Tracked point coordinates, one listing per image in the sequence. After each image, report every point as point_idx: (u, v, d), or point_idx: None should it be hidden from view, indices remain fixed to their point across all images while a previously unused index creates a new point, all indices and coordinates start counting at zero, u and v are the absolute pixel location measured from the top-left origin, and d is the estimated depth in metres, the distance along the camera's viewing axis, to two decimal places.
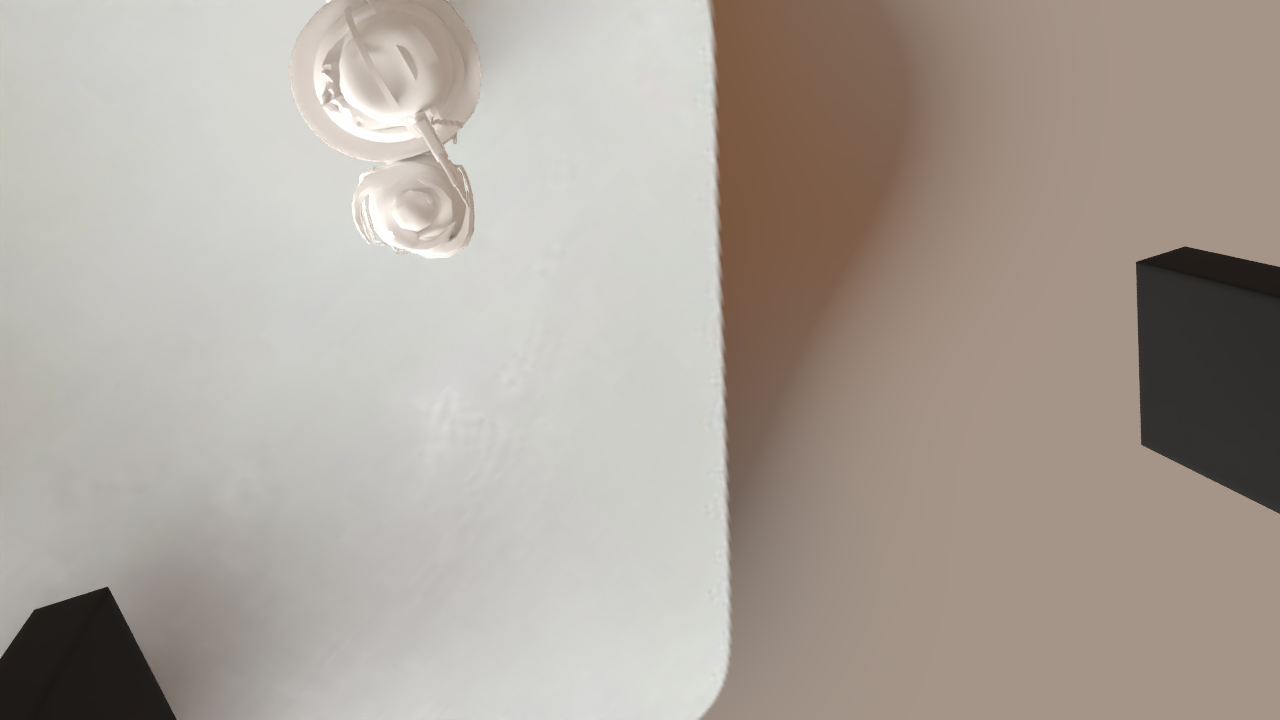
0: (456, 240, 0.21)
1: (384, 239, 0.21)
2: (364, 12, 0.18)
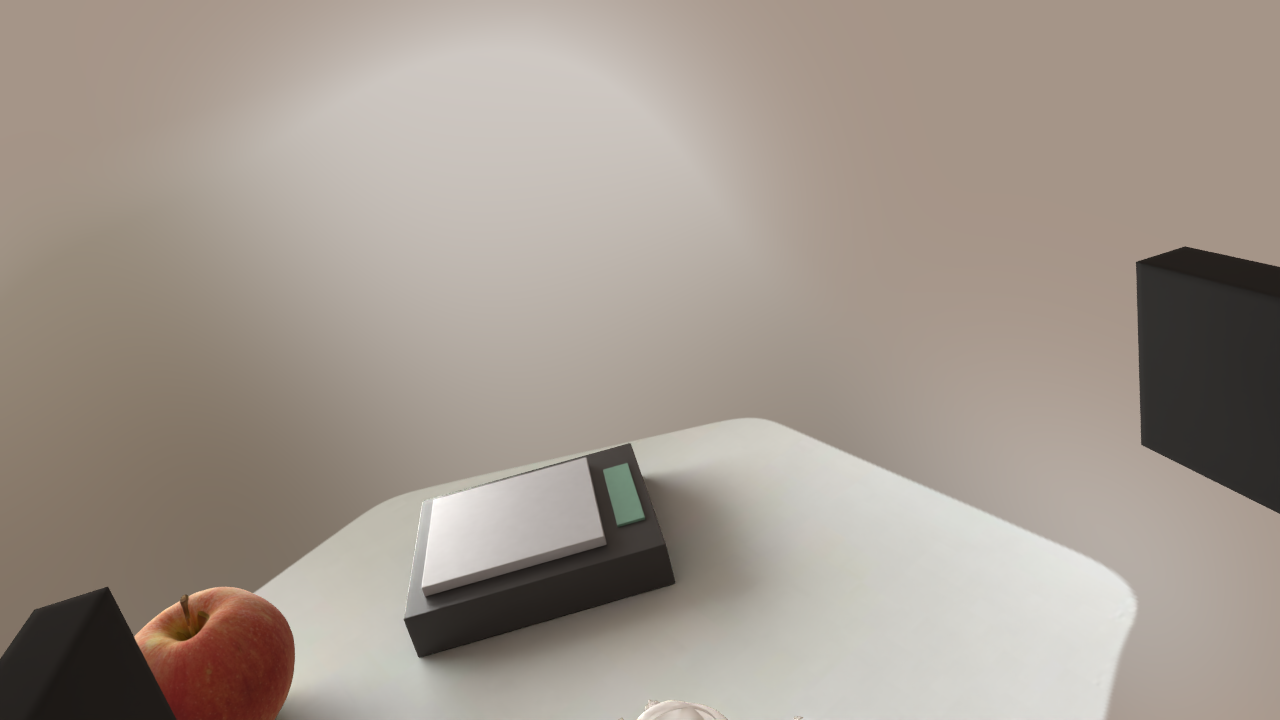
0: None
1: None
2: None
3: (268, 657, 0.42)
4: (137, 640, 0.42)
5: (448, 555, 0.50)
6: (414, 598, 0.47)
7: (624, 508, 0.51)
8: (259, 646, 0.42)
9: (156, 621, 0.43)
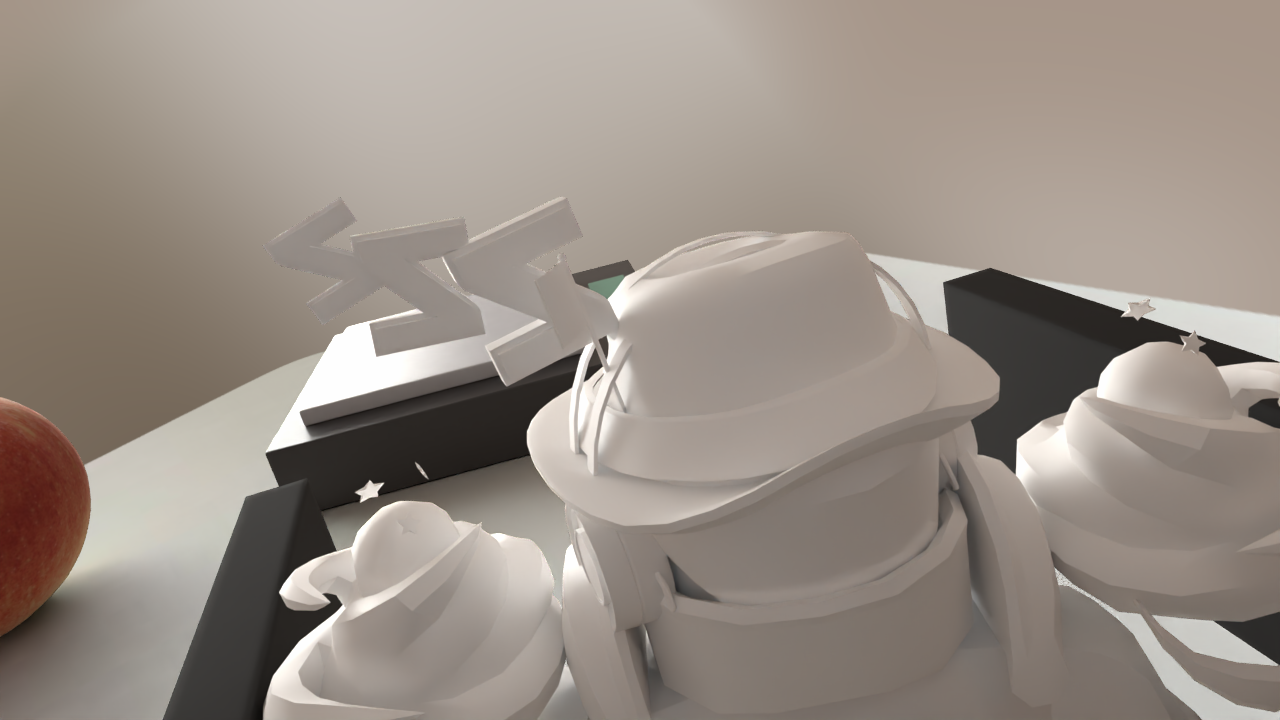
0: (292, 685, 0.07)
1: None
2: None
3: (15, 488, 0.25)
4: None
5: (349, 375, 0.33)
6: (289, 429, 0.31)
7: None
8: None
9: None
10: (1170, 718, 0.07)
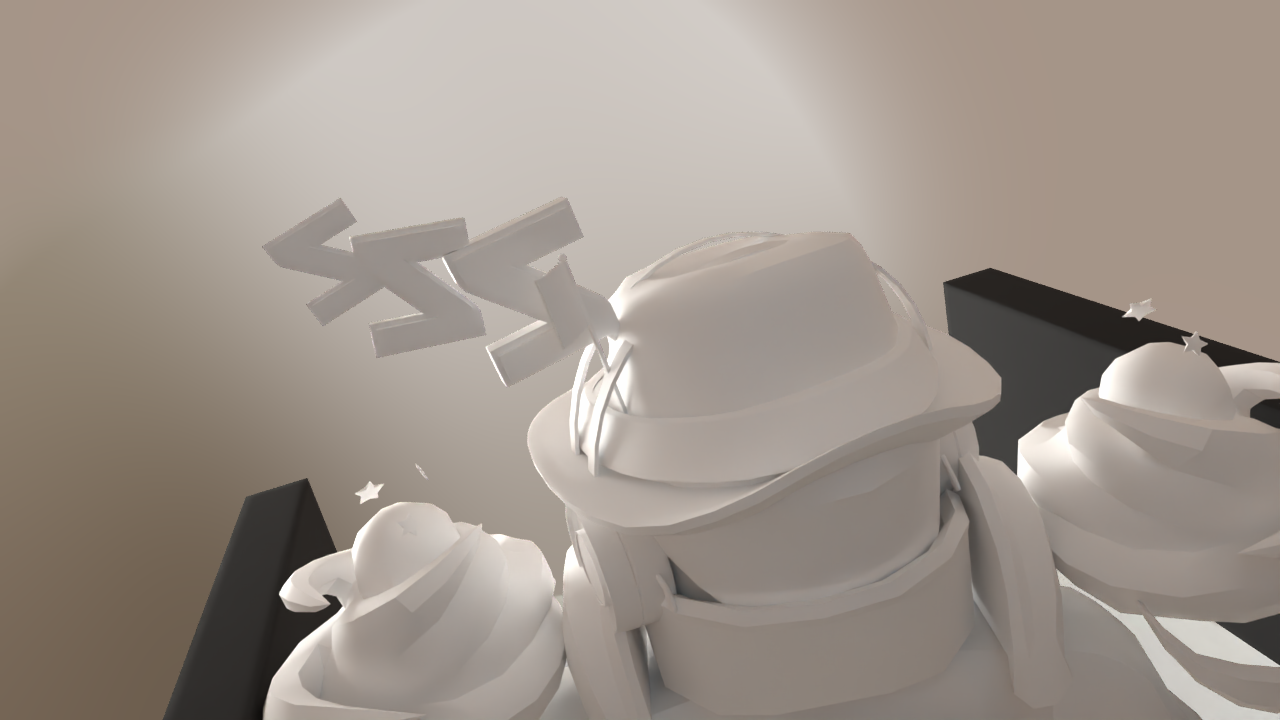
0: (292, 687, 0.07)
1: None
2: None
3: None
4: None
5: None
6: None
7: None
8: None
9: None
10: None
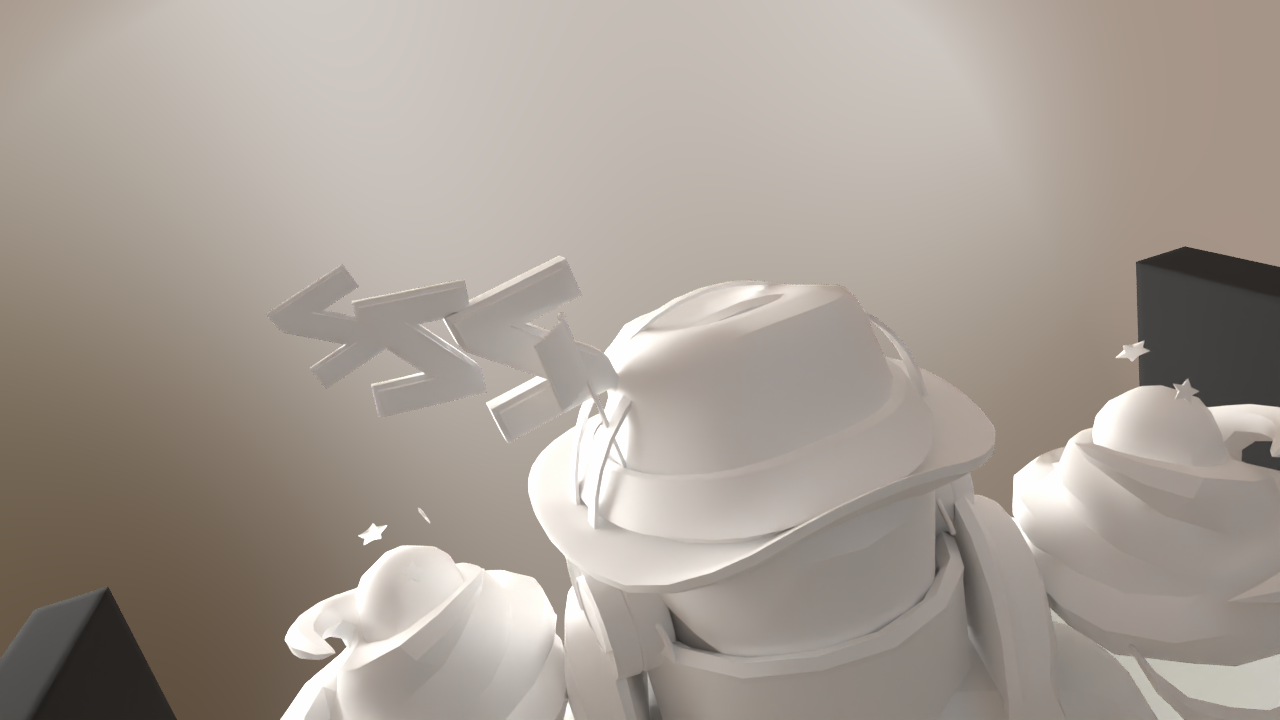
0: None
1: None
2: None
3: None
4: None
5: None
6: None
7: None
8: None
9: None
10: None
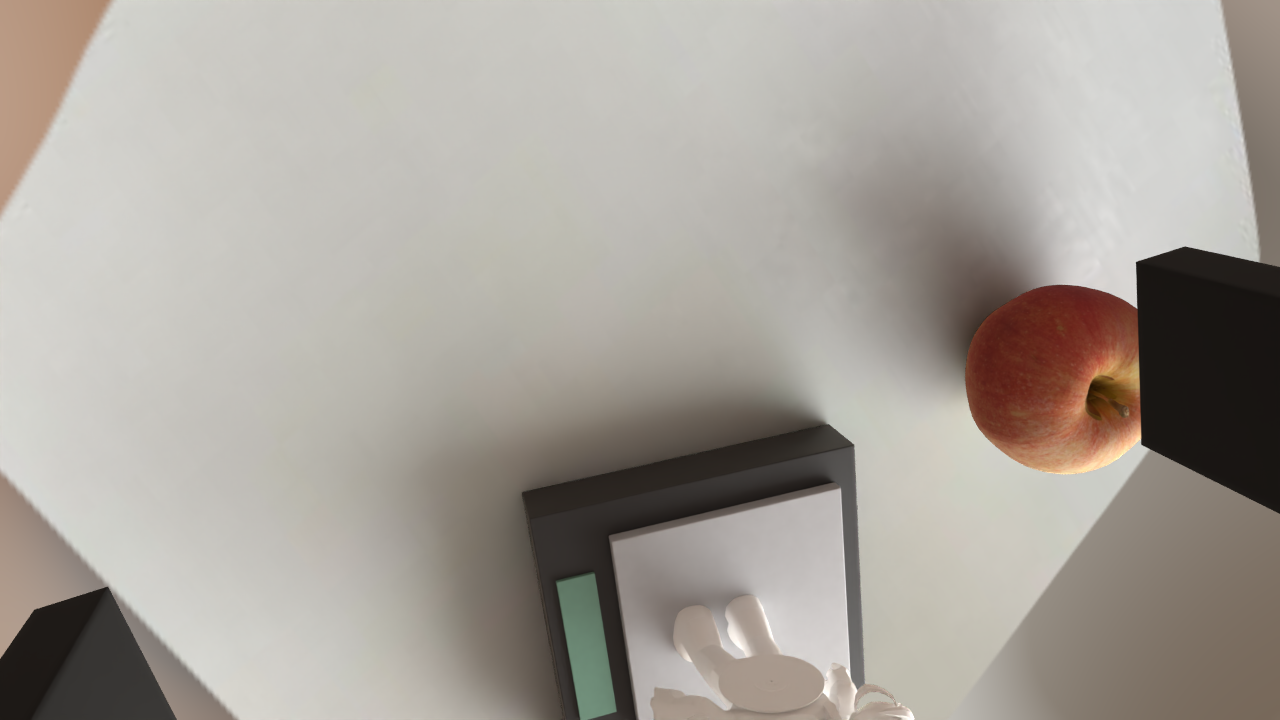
0: None
1: None
2: None
3: (999, 363, 0.36)
4: None
5: (814, 547, 0.38)
6: (846, 480, 0.38)
7: (585, 608, 0.37)
8: (1013, 368, 0.35)
9: None
10: (705, 716, 0.31)
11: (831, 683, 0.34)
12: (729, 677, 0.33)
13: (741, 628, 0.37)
